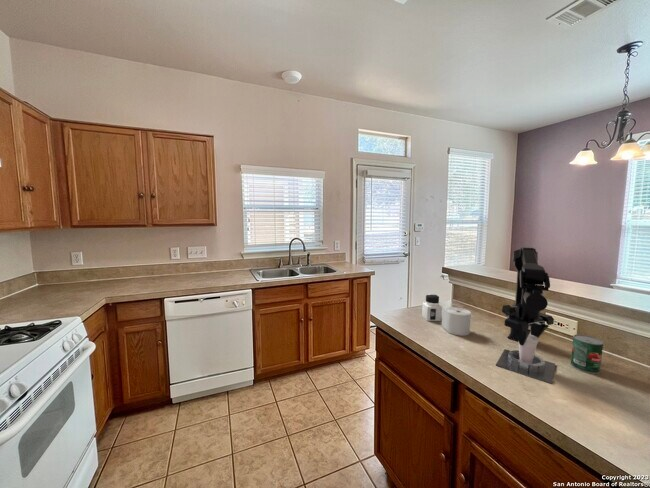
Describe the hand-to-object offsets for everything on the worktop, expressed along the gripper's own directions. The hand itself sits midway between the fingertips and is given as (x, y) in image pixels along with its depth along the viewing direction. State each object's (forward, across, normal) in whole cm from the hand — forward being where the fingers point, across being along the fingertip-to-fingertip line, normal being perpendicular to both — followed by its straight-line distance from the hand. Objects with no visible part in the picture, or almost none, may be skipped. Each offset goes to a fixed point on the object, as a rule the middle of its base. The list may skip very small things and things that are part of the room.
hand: (527, 343), depth 100 cm
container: (+9, -1, -49) cm, 50 cm away
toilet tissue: (+9, 0, -32) cm, 33 cm away
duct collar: (+8, 0, 0) cm, 8 cm away
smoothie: (+7, 0, 0) cm, 7 cm away
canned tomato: (+9, -18, +9) cm, 22 cm away
